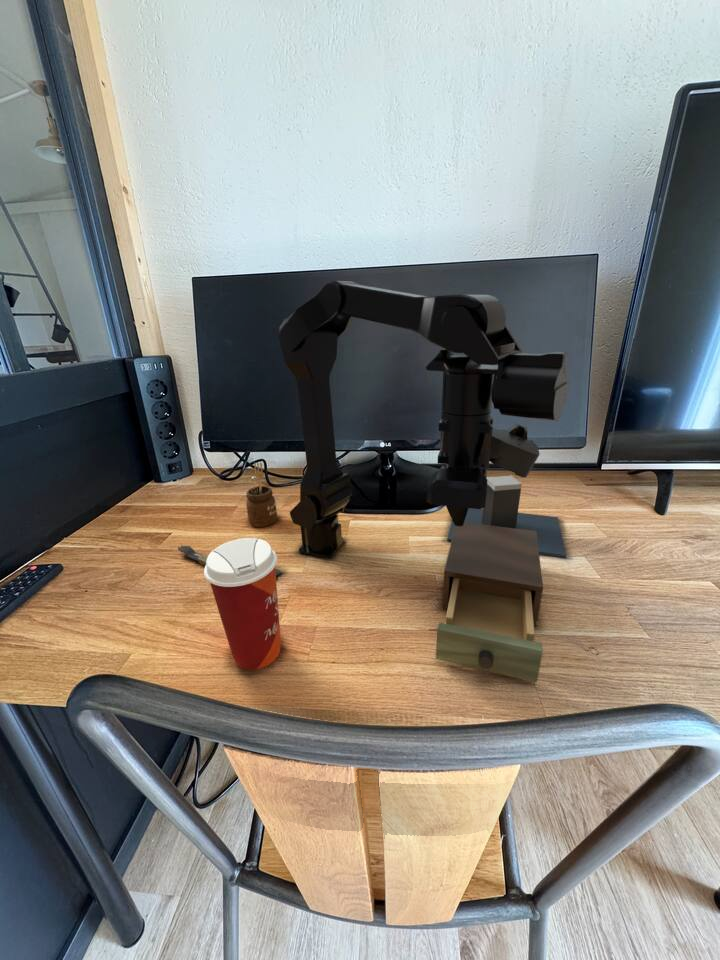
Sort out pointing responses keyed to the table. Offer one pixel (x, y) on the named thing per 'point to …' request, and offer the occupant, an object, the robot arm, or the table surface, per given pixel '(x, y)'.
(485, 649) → the drawer
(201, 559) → the tactical tomahawk
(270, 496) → the utensil holder
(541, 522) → the mat
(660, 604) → the table surface
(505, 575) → the cabinet
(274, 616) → the coffee cup
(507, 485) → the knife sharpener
